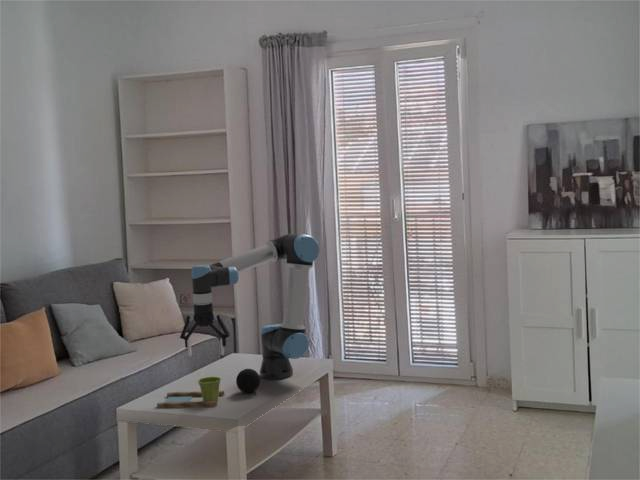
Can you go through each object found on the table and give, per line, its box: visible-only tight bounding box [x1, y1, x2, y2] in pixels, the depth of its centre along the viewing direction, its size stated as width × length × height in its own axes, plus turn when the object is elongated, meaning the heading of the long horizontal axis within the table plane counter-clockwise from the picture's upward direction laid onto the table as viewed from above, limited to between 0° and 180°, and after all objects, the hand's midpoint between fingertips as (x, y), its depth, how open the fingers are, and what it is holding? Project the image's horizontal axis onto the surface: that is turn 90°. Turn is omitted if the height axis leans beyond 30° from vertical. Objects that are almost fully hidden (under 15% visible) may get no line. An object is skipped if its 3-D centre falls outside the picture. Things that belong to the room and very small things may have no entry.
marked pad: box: [163, 396, 193, 403], centre depth 302 cm, size 10×10×1 cm
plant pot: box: [197, 376, 222, 402], centre depth 300 cm, size 9×9×9 cm
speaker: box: [235, 368, 261, 394], centre depth 309 cm, size 10×10×10 cm
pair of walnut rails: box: [156, 390, 225, 409], centre depth 301 cm, size 24×16×2 cm, turn 85°
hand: (206, 354), depth 299 cm, fingers open, 13 cm apart
